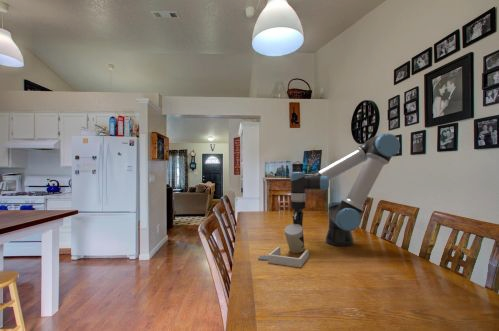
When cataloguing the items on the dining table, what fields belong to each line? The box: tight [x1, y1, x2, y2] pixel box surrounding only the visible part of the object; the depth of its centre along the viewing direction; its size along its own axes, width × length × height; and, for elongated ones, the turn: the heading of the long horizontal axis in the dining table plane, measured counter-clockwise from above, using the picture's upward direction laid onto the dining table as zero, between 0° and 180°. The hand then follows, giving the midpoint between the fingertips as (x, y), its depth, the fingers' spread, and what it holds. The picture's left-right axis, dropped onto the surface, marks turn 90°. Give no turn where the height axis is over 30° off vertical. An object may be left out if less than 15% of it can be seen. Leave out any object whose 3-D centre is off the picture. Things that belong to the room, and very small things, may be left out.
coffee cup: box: [283, 223, 305, 254], centre depth 138 cm, size 9×9×12 cm
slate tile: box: [257, 254, 268, 262], centre depth 129 cm, size 5×5×1 cm
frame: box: [267, 246, 309, 268], centre depth 127 cm, size 15×15×4 cm
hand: (298, 245), depth 145 cm, fingers closed
